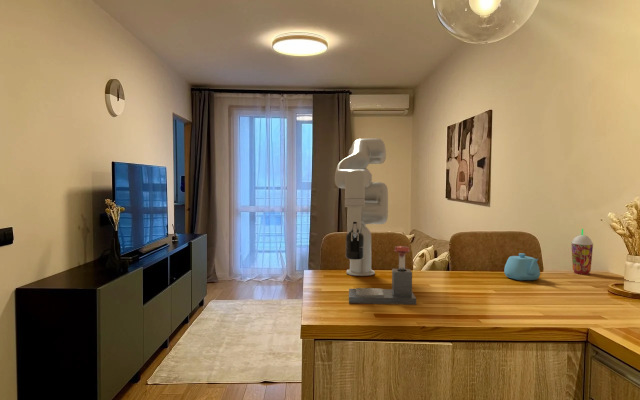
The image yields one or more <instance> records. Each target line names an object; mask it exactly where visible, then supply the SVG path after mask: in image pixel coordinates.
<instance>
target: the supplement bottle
mask: <svg viewBox="0 0 640 400" xmlns="http://www.w3.org/2000/svg"><path fill="white" fill-rule="evenodd" d="M357 232H358V228H357ZM363 257H364V236H363V234H361V231H360V233H359V252H351V232H349V234H348V233H347V234H346V236H345V258H346V259H348V260H350V259H355V260H357V259H362V258H363Z"/></svg>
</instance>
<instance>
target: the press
mask: <svg viewBox="0 0 640 400" xmlns="http://www.w3.org/2000/svg"><path fill="white" fill-rule="evenodd" d="M348 304H370V305H373V304H377V305H417V297H416V295H415V294H414V292H413V272H412V270H411V269H410V268H405V271H399V268H392V269H391V289H389V288H388V289H387V288H380V287H379V288H377V287H376V288H373V287H369V288H367V287H363V288H362V287H356V288H348Z"/></svg>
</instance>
